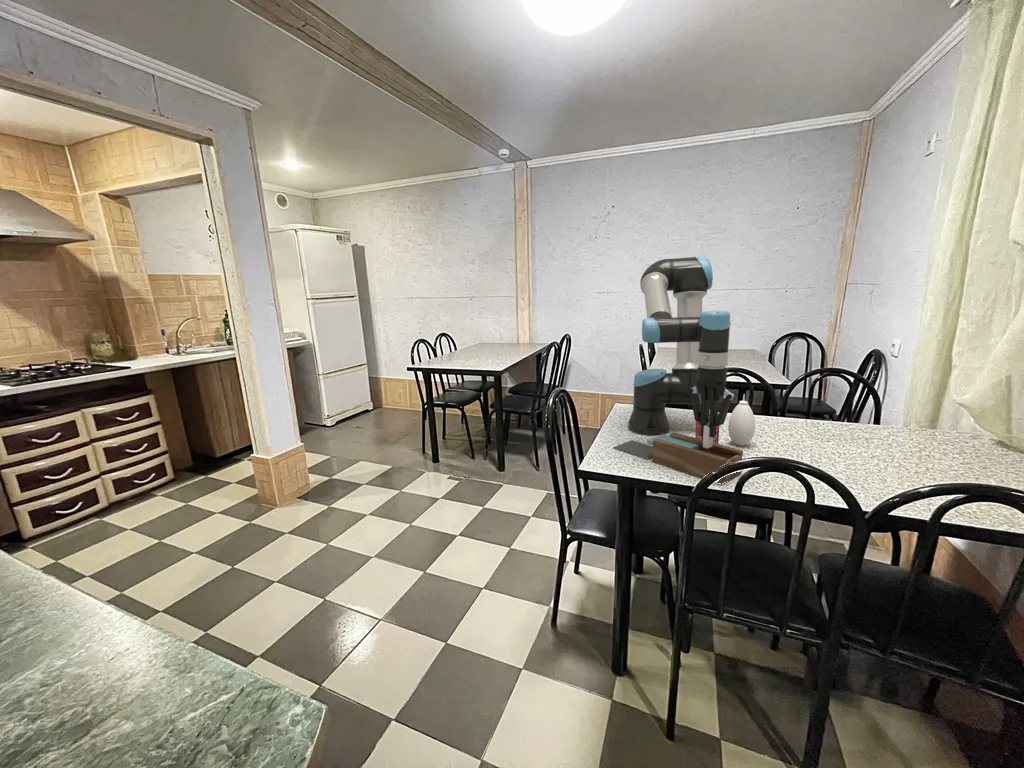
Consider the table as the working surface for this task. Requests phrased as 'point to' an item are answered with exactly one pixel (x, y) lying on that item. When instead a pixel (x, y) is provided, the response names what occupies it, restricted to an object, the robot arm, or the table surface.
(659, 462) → the walnut box
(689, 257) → the robot arm
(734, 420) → the sauce bottle
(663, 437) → the cover plate
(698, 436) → the soda can
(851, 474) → the table surface
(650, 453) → the rubber mat
